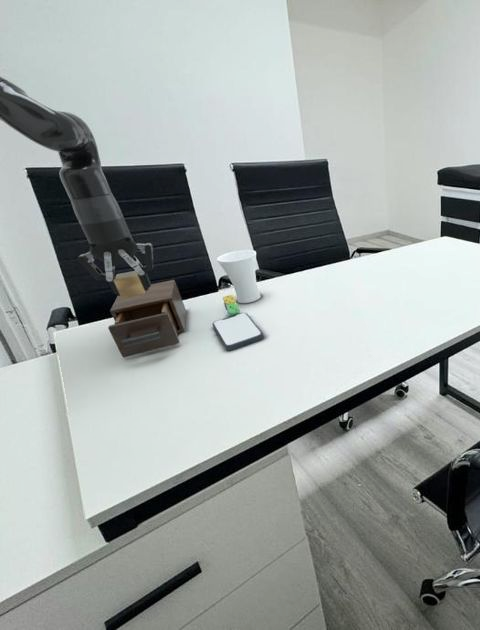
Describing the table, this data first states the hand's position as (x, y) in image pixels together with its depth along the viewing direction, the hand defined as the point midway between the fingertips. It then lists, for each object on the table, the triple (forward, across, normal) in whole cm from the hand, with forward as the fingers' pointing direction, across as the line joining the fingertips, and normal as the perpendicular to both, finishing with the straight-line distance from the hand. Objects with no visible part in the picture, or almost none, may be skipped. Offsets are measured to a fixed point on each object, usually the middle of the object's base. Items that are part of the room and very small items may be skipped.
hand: (134, 291), depth 89 cm
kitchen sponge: (+14, -18, -4) cm, 23 cm away
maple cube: (0, 0, 0) cm, 0 cm away
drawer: (+13, 0, +2) cm, 13 cm away
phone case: (+14, -18, +8) cm, 24 cm away
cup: (+14, -23, -14) cm, 30 cm away
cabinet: (+13, 0, -9) cm, 16 cm away
